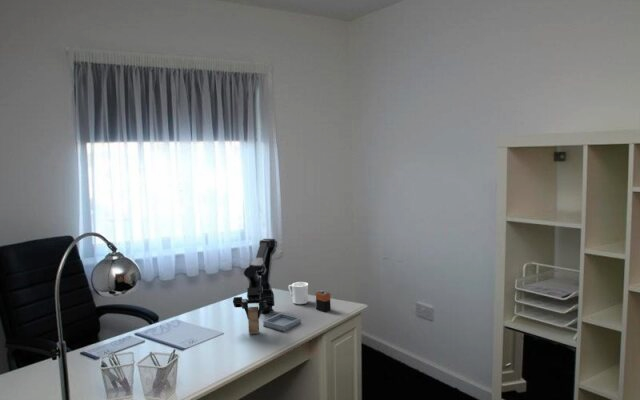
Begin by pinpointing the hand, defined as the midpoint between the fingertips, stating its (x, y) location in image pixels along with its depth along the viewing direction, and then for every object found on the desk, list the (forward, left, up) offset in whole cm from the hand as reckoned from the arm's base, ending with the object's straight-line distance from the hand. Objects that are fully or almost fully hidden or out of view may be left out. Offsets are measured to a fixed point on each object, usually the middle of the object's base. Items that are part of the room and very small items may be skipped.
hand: (253, 318), depth 212 cm
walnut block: (-1, +1, -7) cm, 7 cm away
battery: (+8, +43, -8) cm, 45 cm away
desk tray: (+3, +16, -7) cm, 18 cm away
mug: (-10, +45, -8) cm, 47 cm away
